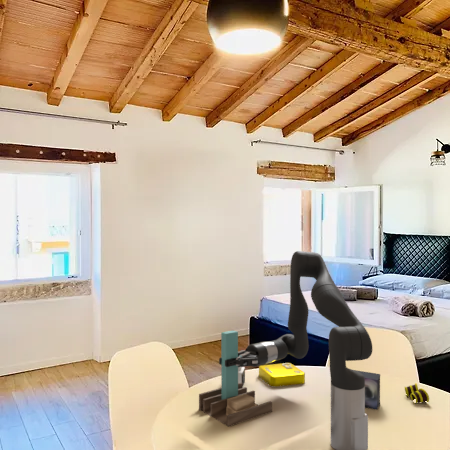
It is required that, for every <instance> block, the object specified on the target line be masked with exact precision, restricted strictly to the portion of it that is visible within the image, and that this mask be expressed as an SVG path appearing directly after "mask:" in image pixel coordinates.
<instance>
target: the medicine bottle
mask: <svg viewBox="0 0 450 450" xmlns="http://www.w3.org/2000/svg"><path fill="white" fill-rule="evenodd" d="M245 367H246V366H245ZM245 367H240V365H239V366H238V383H240V382H242V383H243V386H244V385H245V383H246V368H245Z"/></svg>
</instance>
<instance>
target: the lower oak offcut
mask: <svg viewBox="0 0 450 450" xmlns="http://www.w3.org/2000/svg"><path fill="white" fill-rule="evenodd" d="M255 406H257V403H256V404H255ZM253 407H254V406H253ZM250 408H251V407H250ZM247 409H248V408H247ZM244 410H245V409H244ZM240 411H242V410H240ZM237 412H239V411H237ZM233 413H236V411H234V410H232V409H230V408H228V407H226V415H230V414H233Z"/></svg>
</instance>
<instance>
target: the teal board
mask: <svg viewBox="0 0 450 450" xmlns="http://www.w3.org/2000/svg"><path fill="white" fill-rule="evenodd" d="M220 339H221V342H220V345H221V354H220V355H221V357H220V358H222V365H221V369H220V370H221V376H220V377H221V387H220V388H222V400H223V399H227V398H230V397H233V396H237V395H238V366H235V365H234V366H230V367H226V366H225V360H227V359H232V358H236V357H238V352H239V331H237V330H228V331H224V332H221V338H220Z"/></svg>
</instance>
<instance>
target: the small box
mask: <svg viewBox="0 0 450 450" xmlns="http://www.w3.org/2000/svg"><path fill="white" fill-rule="evenodd" d="M354 370H355V371H357V372H359V373H361V374H362V375H363V376H364V378H365V409H372V410H379V408H380V406H381V373H376V372H375V373H374V372H369V371H362V370H361V371H360V370H356V369H354Z"/></svg>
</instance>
